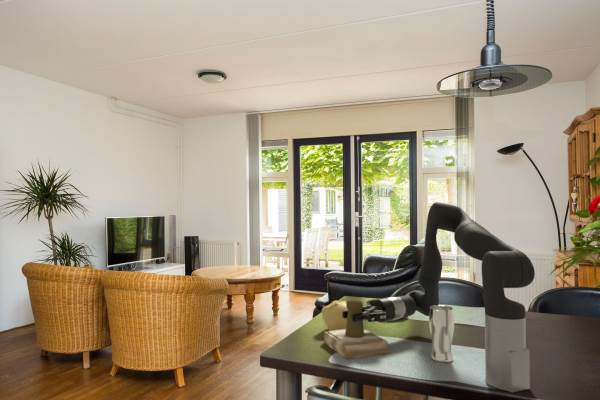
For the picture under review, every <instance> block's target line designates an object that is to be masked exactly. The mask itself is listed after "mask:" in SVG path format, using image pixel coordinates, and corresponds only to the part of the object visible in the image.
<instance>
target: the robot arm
mask: <svg viewBox="0 0 600 400" xmlns="http://www.w3.org/2000/svg"><path fill="white" fill-rule="evenodd" d="M425 226H426V229H425V234H424V235H425V237H424V247H423V248H424V249H423V257H422V261H421V265H420V270H419V275H418V279H417V283H418V284H419V285H420V286H421V287H422V288H423V291H422V290H418V289H417V290H416V289H415V290H411V291H410V292H407V293H406V294H405V295H400V296H390V297H381V298H376V300H374V301H373V302H372V304H371V305H367V304H365V305H363V308H362V310H361V313H356V314H352V315H351V320H352V321H353V322H356V321H361V320H363V322H368V323H372V322H373V323H374V322H378V323H385V322H391V321H396V320H399V319H401V318H407V317H411V316H413V315H414V314H416V312H419V313H420V314H422V315H424V316H426V317H429V314H430V306H432V305H440V295H439V289H440V288H439V283H440V279H441V276H442V271H443V260H442V255H441V252H440V250H439V246H438V241H437V233H438V230H441V231H446V232H451V233H453V235H454V236H453V237H454V242H455V244H456V246H457V247H458V248H459V249H460V250H461V251H462V252H463V253H465V255H467V256H469V257H470V258H473V259H475V260H478V261H481V281H482V283H481V284H482V300H483V306H484V355H485V357H484V364H485V369H484V370H485V371H484V372H485V383H486V384H487V385H489V386H490V387H493V388H495V389H498V390H503V391H507V392H510V393H517V392H521V391H525V390H530V389H531V387H530V386H531V374H530V372H531V369H530V368H531V364H530V363H531V362H530V356H531V355H530V353H531V352H530V350H529V348H527V345H526V344H527V341H526V335H527V333H526V332H527V331H526V328H527V327H526V326H527V325H526V307H525V305H524V304H523V303H521V302H518V301H516V300H513V299H512V300H511V299H510V298H508V297H506V295H505V289H521V288H525V287H528V286H529V285H531V284H532V283H533V281H534V279H535V274H536V273H535V267H534V264H533V262H532V260H531V259H530V258H529V257H528V255H527V254H525V253H524V252H522V251H521V250H519V249H518V248H515V247H513V246H511V245H510V244H508V243H506V242H504V241H503V240H501V239H499V237H498V236H495V235H494V234H492V233H491V232H490V231H489V230H488V229H487V228H485V227H484V226H482V225H481V224H479V223H478V222H476V221H475V220H474V219H472V218H471V217H470V216H469V215H468V214H467V213H466V212H465V211H464V210H463V208H461V207H459V206H458V205H455V204H448V203H445V202H439V201H437V202H435V201H434V203H433V204H432V205H431V206H430V207H429V210H428V213H427V218H426V225H425ZM347 315H348V310H347V311H343V312H342V317H343V318H347Z"/></svg>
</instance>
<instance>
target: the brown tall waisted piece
mask: <svg viewBox="0 0 600 400" xmlns="http://www.w3.org/2000/svg"><path fill="white" fill-rule="evenodd" d="M346 306H347V309H348V315H347V324H346V332H345V335H346V336H349V337H362V336H364V329H365V328H364V321H363V320H361V321H356V322H353V321H352V320H351V315H352V314H356V313H361V310H362V308H363V306H364V304H363V301H362V300H361V299H358V298H350V299H348V300H346Z"/></svg>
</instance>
